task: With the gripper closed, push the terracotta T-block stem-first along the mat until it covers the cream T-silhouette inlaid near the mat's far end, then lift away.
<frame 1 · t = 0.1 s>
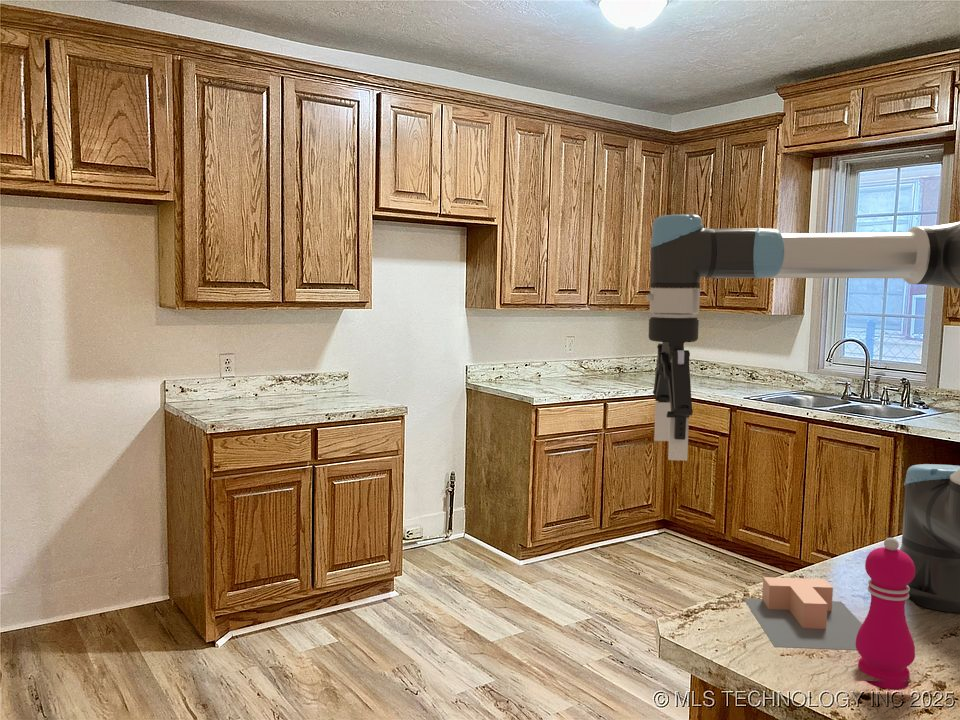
hand: (669, 449, 119), 28 cm above the counter, fingers open, 13 cm apart
t block: (803, 614, 121), point 1 cm above the counter, touching mat
pepper mill: (882, 679, 104), on the counter
mat: (809, 629, 118), on the counter
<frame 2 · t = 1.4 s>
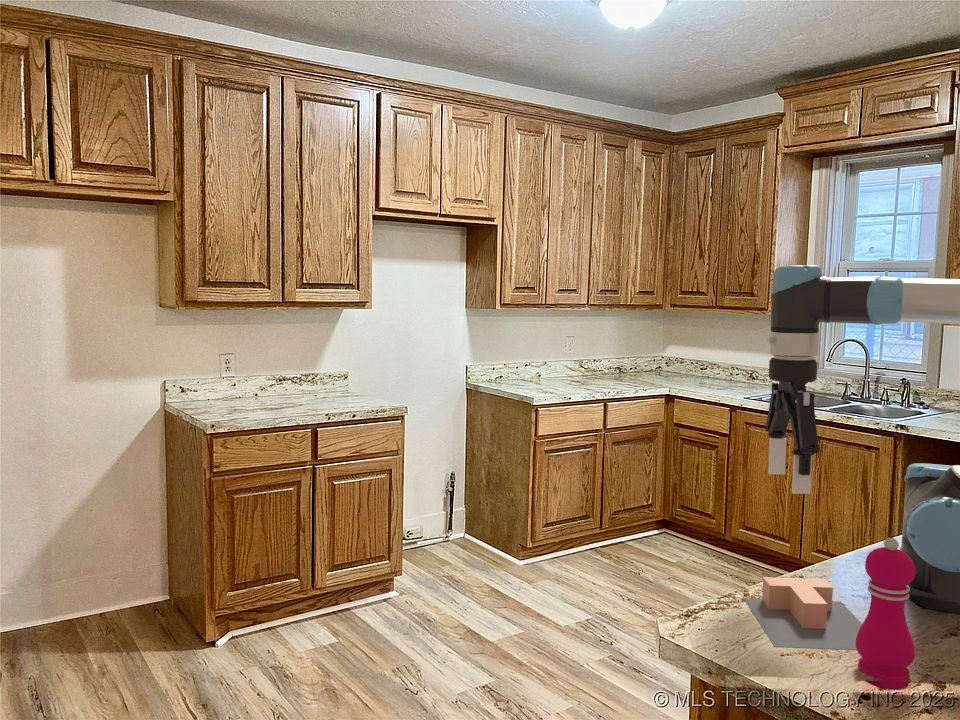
hand: (788, 483, 129), 20 cm above the counter, fingers open, 12 cm apart
nothing on the counter moved.
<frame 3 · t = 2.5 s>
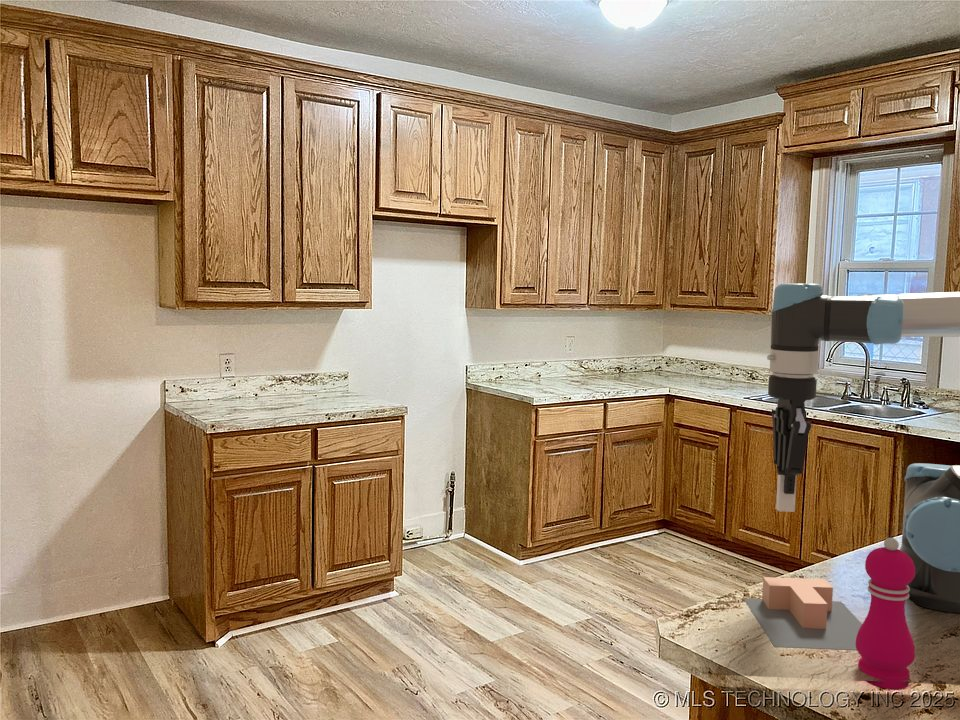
hand: (785, 510, 130), 15 cm above the counter, fingers closed
nothing on the counter moved.
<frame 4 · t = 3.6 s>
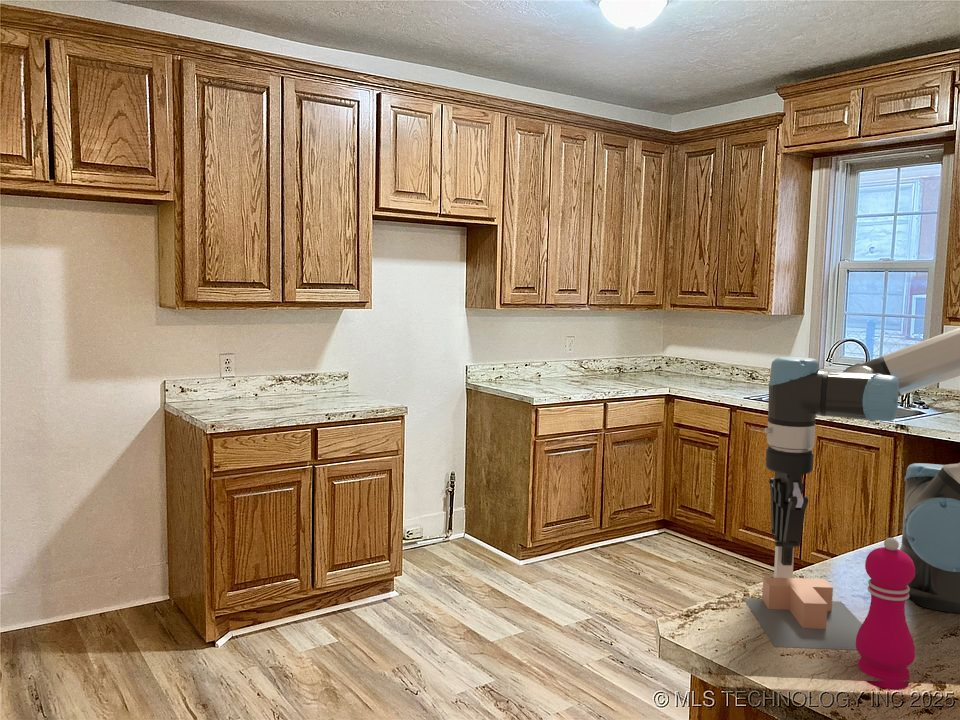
hand: (783, 580, 131), 3 cm above the counter, fingers closed
nothing on the counter moved.
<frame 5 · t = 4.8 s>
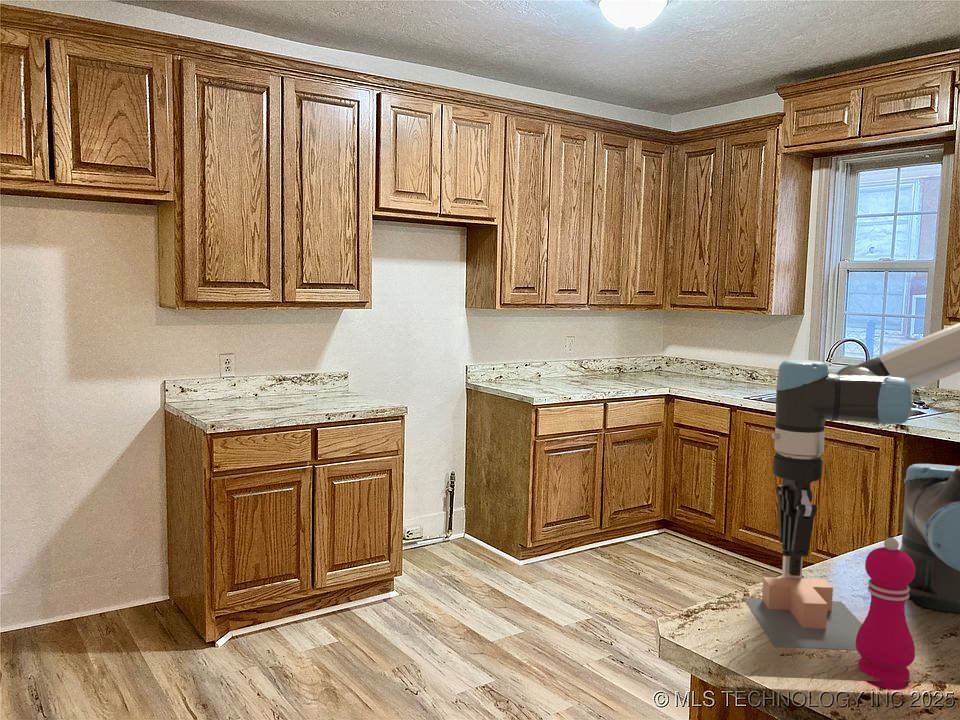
hand: (791, 590, 126), 3 cm above the counter, fingers closed
t block: (803, 614, 121), point 1 cm above the counter, touching gripper
everything else where it was.
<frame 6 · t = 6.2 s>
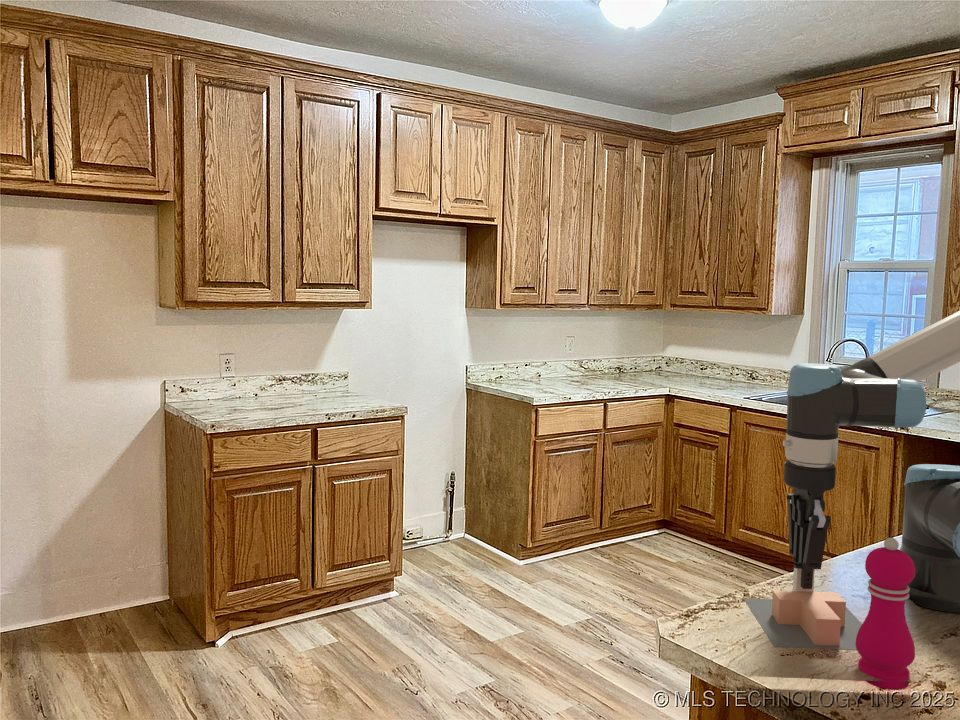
hand: (802, 604, 121), 3 cm above the counter, fingers closed
t block: (814, 629, 116), point 1 cm above the counter, touching gripper, mat
everything else where it was.
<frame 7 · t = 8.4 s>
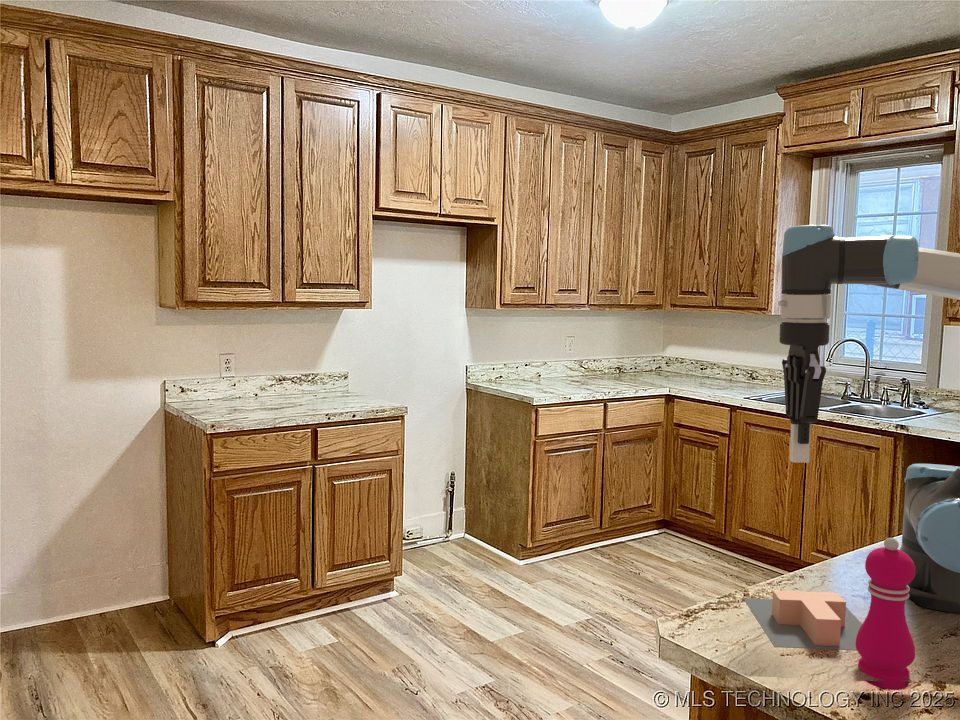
hand: (799, 461, 126), 25 cm above the counter, fingers closed
t block: (815, 629, 116), point 1 cm above the counter, touching mat
everything else where it was.
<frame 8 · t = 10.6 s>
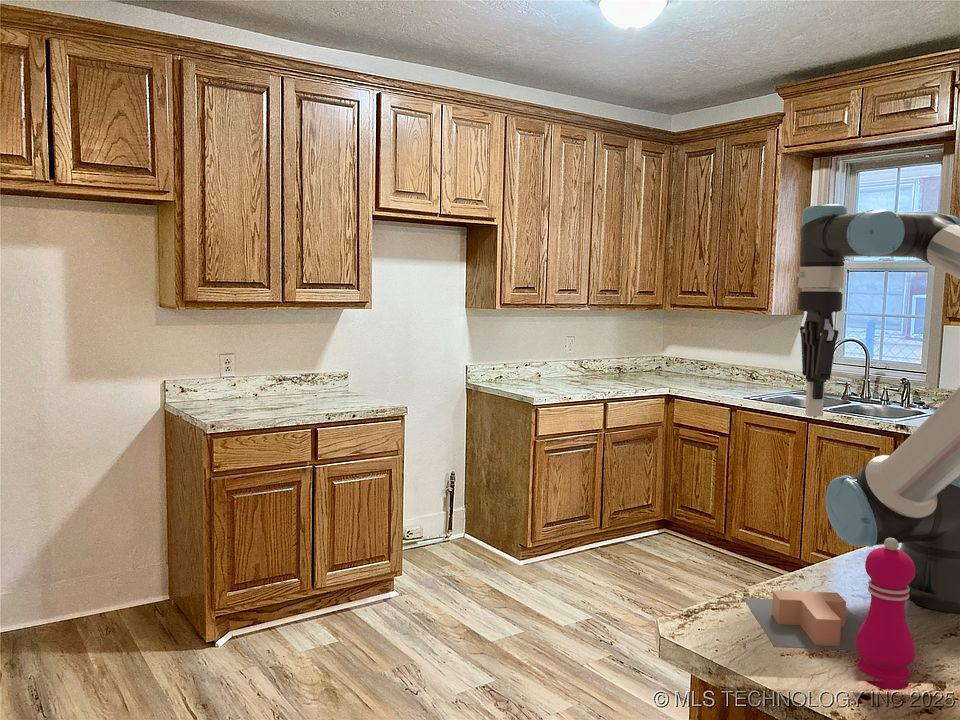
hand: (814, 415, 142), 29 cm above the counter, fingers closed
nothing on the counter moved.
at the end: t block 0.1 cm from the target spot on the mat, point 1.2 cm above the mat's base; t block tilted 0°; t block touching mat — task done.
